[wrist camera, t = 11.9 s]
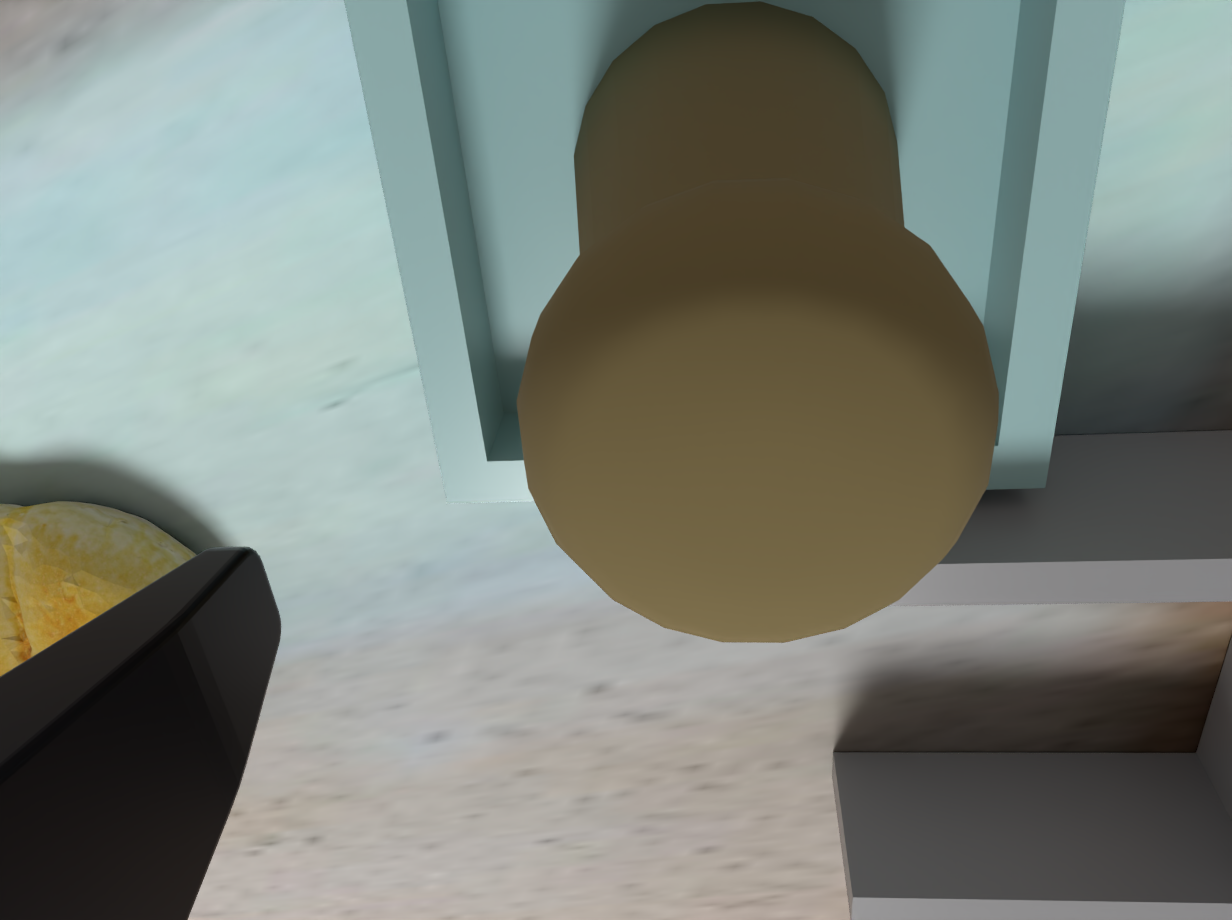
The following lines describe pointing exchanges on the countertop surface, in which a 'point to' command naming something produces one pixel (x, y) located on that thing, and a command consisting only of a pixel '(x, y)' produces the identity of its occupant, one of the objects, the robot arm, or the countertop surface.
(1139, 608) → the countertop surface
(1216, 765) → the bay
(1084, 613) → the countertop surface
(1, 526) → the bread roll
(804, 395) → the cork
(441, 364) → the tray
